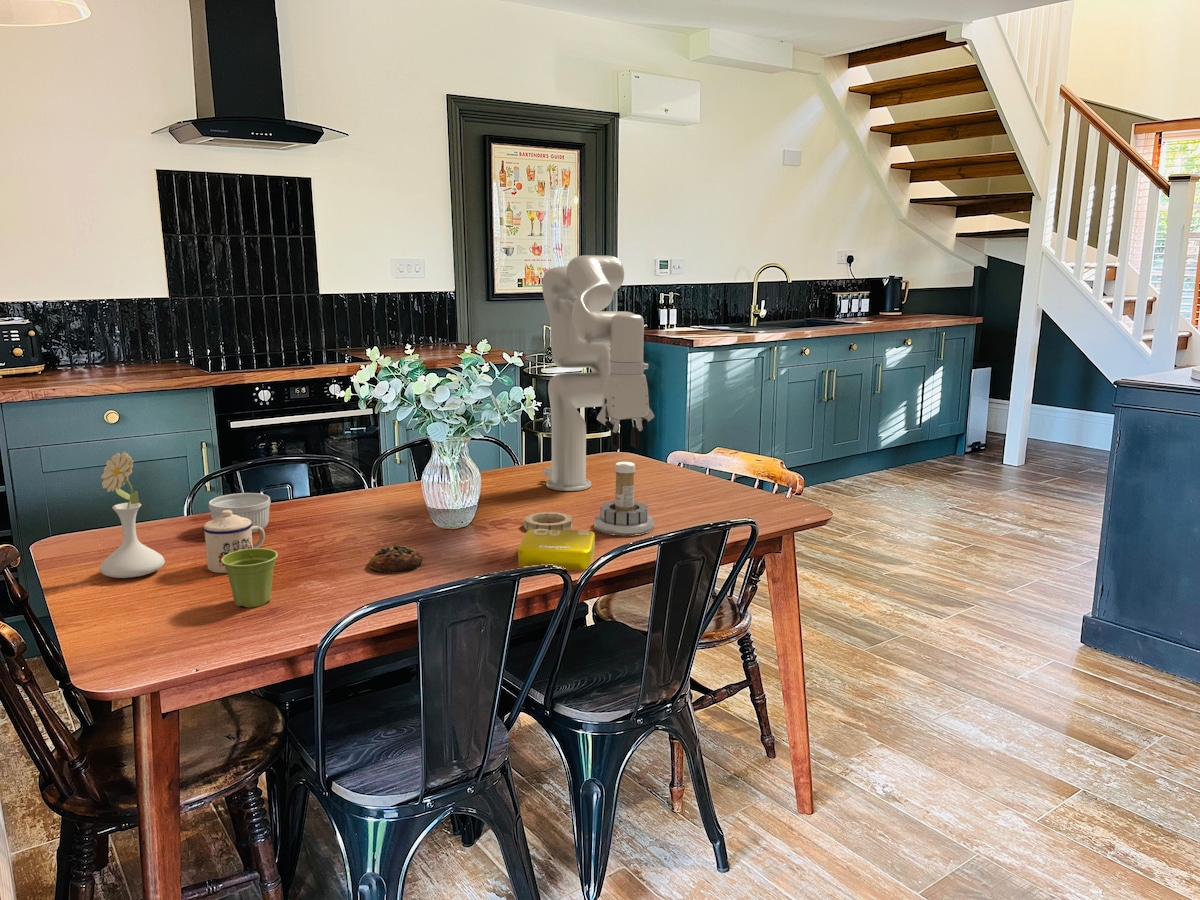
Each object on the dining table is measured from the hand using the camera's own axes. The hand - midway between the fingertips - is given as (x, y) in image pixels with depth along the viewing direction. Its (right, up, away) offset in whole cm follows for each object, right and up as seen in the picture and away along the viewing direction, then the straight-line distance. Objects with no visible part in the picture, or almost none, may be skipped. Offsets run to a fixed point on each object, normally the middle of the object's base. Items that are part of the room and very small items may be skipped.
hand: (625, 447), depth 204 cm
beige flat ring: (-18, -19, +4) cm, 26 cm away
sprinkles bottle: (0, -17, +4) cm, 18 cm away
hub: (0, -19, +4) cm, 19 cm away
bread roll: (-48, -25, -23) cm, 58 cm away
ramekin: (-89, -19, 0) cm, 91 cm away
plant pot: (-69, -28, -44) cm, 86 cm away
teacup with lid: (-79, -24, -24) cm, 87 cm away
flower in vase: (-97, -25, -31) cm, 105 cm away
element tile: (-15, -24, -18) cm, 33 cm away
